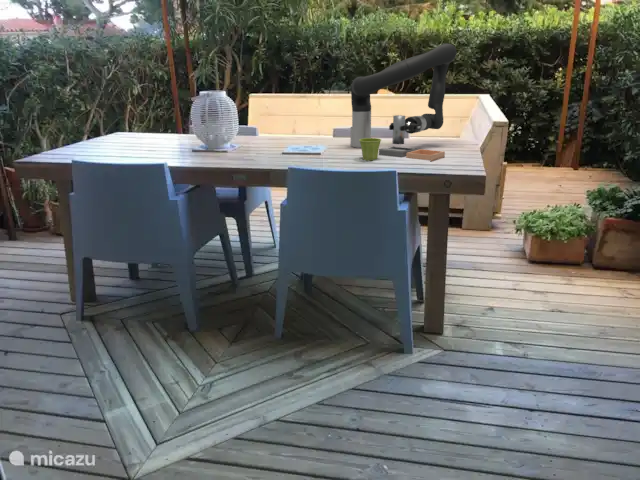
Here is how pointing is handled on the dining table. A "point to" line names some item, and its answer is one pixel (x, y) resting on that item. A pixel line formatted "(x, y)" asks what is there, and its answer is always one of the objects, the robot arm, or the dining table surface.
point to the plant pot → (370, 148)
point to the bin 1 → (395, 151)
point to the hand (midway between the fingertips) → (395, 128)
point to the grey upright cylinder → (398, 129)
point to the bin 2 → (426, 154)
